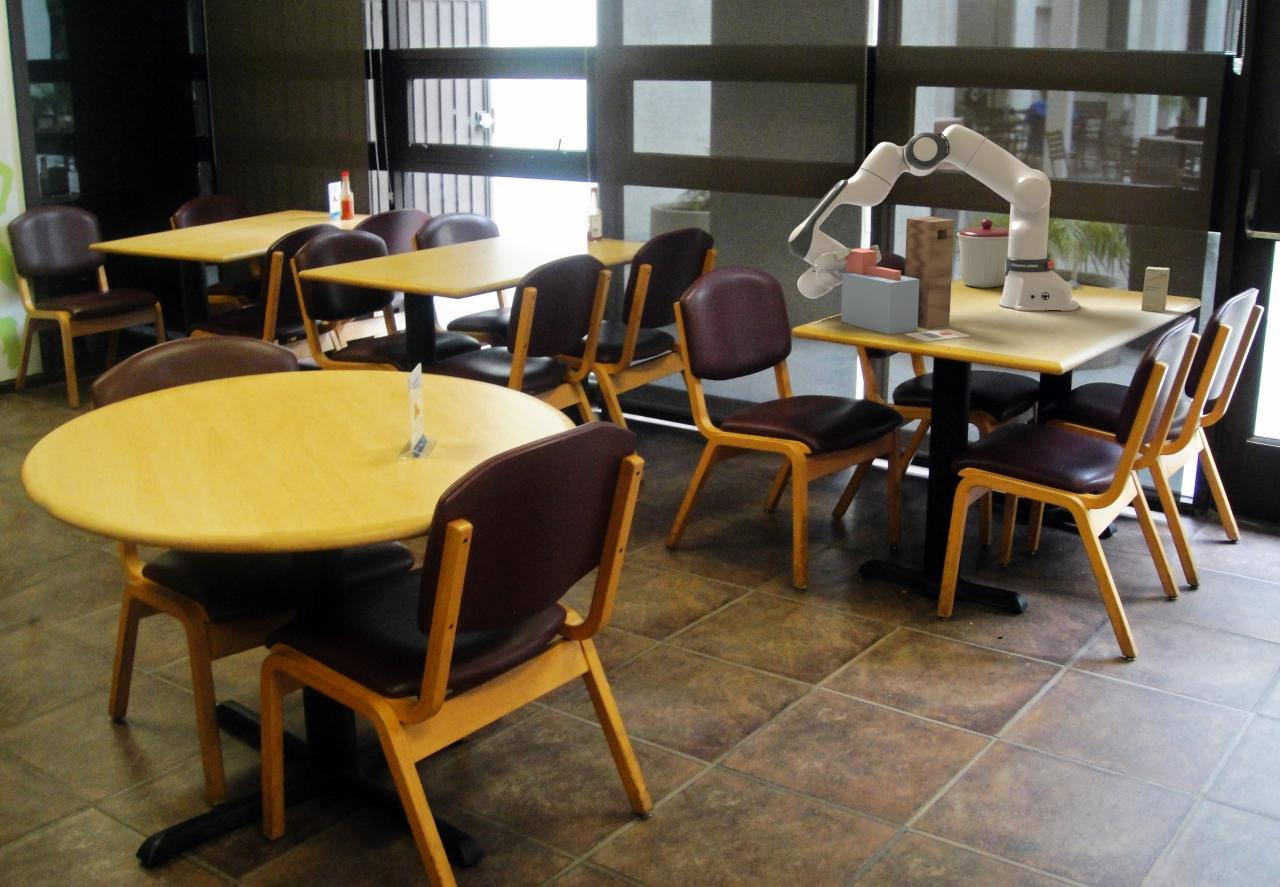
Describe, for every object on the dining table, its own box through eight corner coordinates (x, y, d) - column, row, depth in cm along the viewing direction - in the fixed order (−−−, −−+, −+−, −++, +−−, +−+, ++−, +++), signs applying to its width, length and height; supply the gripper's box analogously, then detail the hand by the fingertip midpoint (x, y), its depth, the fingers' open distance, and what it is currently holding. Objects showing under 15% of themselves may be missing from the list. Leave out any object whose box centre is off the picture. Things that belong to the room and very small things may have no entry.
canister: (1014, 290, 428) (1018, 222, 422) (955, 289, 432) (958, 222, 426) (1011, 280, 445) (1015, 215, 439) (954, 280, 449) (957, 215, 443)
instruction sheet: (904, 334, 368) (904, 333, 368) (948, 329, 374) (948, 328, 373) (925, 341, 360) (925, 340, 360) (970, 336, 365) (970, 335, 365)
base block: (841, 322, 386) (842, 272, 382) (868, 318, 391) (870, 269, 387) (888, 334, 369) (890, 282, 365) (917, 330, 374) (919, 279, 370)
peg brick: (845, 271, 384) (846, 249, 383) (859, 269, 387) (860, 248, 385) (890, 280, 369) (891, 258, 367) (904, 278, 371) (905, 256, 369)
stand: (903, 322, 384) (906, 218, 376) (924, 319, 388) (929, 216, 379) (927, 328, 375) (931, 222, 367) (949, 325, 379) (954, 219, 371)
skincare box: (1140, 310, 394) (1144, 268, 391) (1143, 307, 398) (1146, 266, 395) (1164, 312, 391) (1167, 269, 388) (1166, 309, 395) (1170, 267, 392)
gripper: (803, 261, 388) (830, 241, 376) (860, 254, 397) (888, 235, 386) (809, 282, 387) (836, 263, 375) (866, 275, 396) (894, 256, 384)
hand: (863, 249), depth 380 cm, fingers open, 8 cm apart
